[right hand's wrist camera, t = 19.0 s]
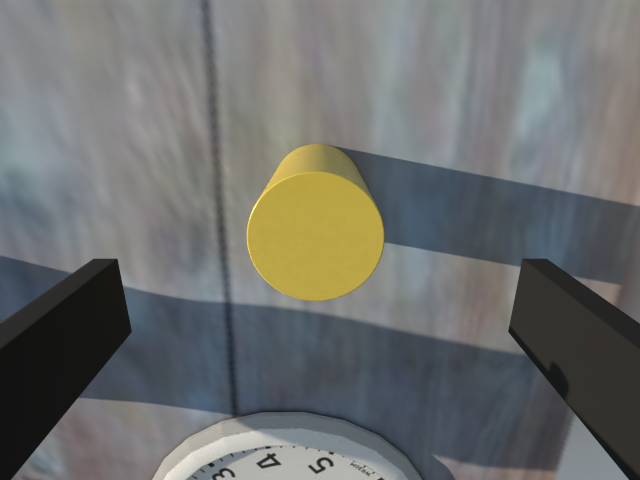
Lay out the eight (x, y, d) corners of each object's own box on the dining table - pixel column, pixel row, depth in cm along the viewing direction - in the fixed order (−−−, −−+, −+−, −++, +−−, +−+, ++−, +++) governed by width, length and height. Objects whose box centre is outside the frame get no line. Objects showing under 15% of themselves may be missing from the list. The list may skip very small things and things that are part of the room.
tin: (303, 244, 30) (294, 322, 19) (256, 173, 28) (218, 218, 17) (376, 202, 29) (408, 262, 18) (332, 126, 27) (340, 143, 16)
